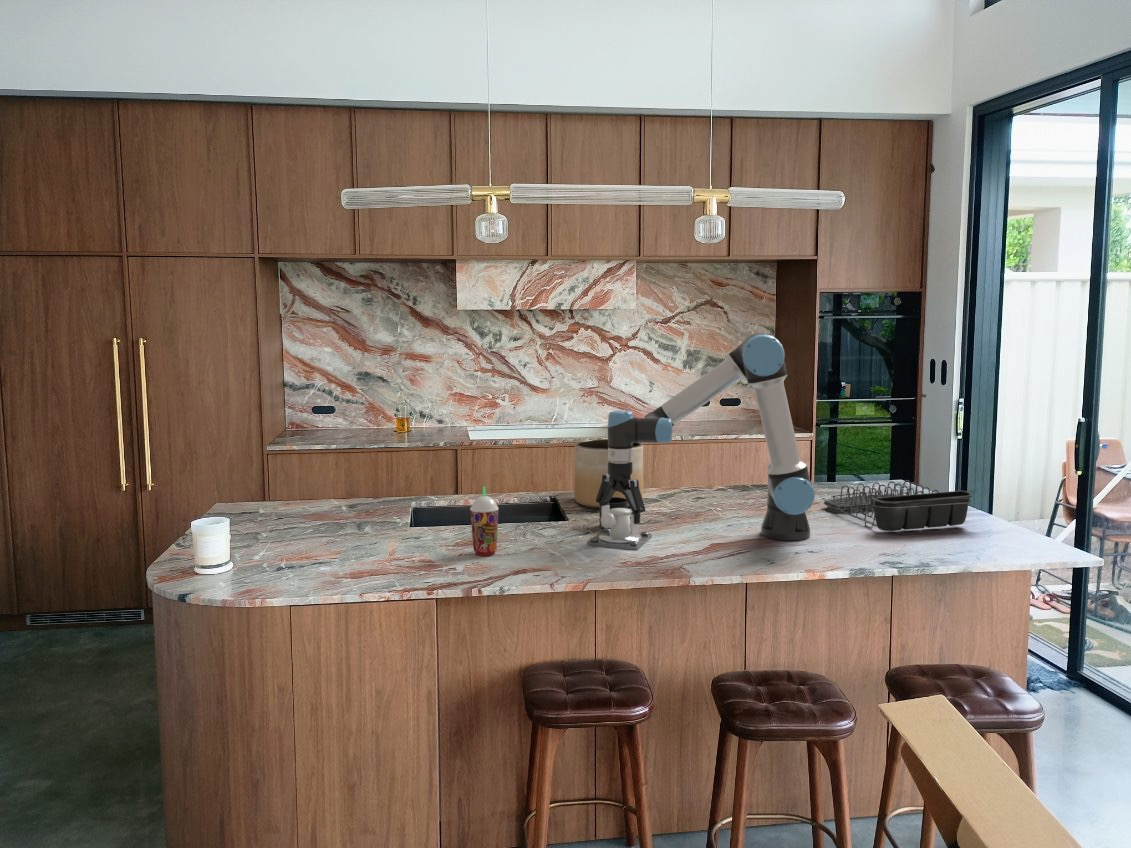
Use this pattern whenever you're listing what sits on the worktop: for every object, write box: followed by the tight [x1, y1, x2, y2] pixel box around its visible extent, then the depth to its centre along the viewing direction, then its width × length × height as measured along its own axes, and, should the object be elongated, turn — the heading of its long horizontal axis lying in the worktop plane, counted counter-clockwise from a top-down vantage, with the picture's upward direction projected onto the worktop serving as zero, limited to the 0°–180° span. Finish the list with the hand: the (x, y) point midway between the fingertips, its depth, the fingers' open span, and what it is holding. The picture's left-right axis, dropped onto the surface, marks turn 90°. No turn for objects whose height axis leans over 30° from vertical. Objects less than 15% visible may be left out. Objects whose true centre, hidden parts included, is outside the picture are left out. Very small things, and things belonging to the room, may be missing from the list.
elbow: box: [601, 508, 632, 539], centre depth 273 cm, size 9×7×8 cm
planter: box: [573, 438, 644, 510], centre depth 328 cm, size 25×25×22 cm
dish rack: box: [822, 479, 973, 532], centre depth 303 cm, size 34×44×12 cm
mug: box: [598, 497, 631, 530], centre depth 292 cm, size 9×12×9 cm
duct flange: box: [586, 528, 653, 551], centre depth 275 cm, size 16×16×2 cm
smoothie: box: [469, 486, 500, 557], centre depth 260 cm, size 8×8×20 cm
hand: (619, 530), depth 274 cm, fingers open, 12 cm apart
